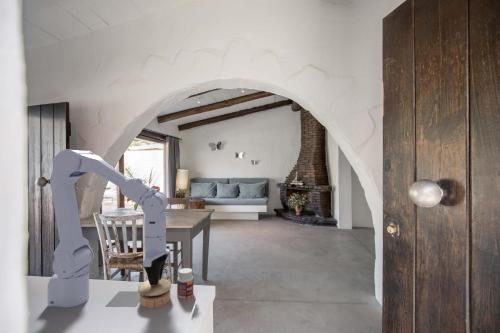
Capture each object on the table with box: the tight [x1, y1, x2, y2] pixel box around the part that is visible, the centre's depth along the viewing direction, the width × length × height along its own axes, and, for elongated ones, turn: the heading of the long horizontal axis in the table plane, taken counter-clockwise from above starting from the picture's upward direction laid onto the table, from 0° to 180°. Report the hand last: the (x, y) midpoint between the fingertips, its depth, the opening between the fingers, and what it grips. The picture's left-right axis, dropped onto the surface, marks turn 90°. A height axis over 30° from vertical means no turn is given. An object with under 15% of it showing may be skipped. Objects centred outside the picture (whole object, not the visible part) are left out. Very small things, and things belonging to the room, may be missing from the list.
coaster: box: [105, 290, 140, 307], centre depth 78 cm, size 8×8×1 cm
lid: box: [137, 274, 172, 297], centre depth 77 cm, size 9×9×5 cm
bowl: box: [139, 289, 171, 309], centre depth 77 cm, size 8×8×3 cm
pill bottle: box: [176, 267, 195, 300], centre depth 80 cm, size 5×5×8 cm
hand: (155, 282), depth 77 cm, fingers closed on lid, 2 cm apart
